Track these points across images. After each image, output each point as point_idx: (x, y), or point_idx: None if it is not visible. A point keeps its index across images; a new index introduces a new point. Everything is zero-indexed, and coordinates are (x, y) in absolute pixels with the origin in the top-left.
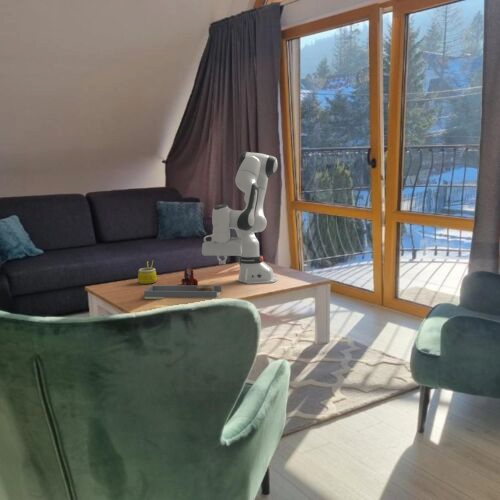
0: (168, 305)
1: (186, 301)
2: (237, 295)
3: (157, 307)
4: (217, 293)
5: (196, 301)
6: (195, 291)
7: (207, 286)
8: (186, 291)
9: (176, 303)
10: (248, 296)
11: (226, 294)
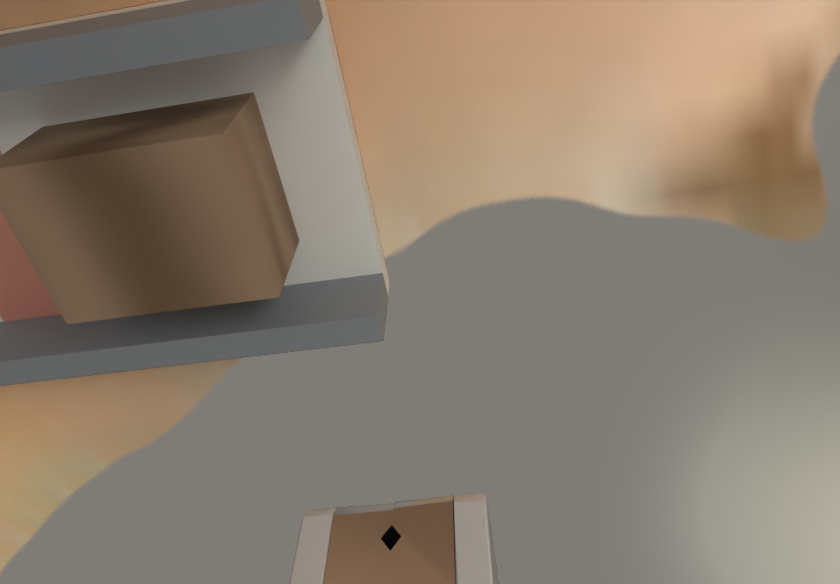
0: (53, 497)
1: (116, 388)
2: (604, 64)
3: (14, 542)
4: (316, 126)
5: (213, 374)
6: (119, 369)
7: (162, 224)
8: (14, 383)
9: (74, 448)
10: (775, 87)
11: (425, 39)
